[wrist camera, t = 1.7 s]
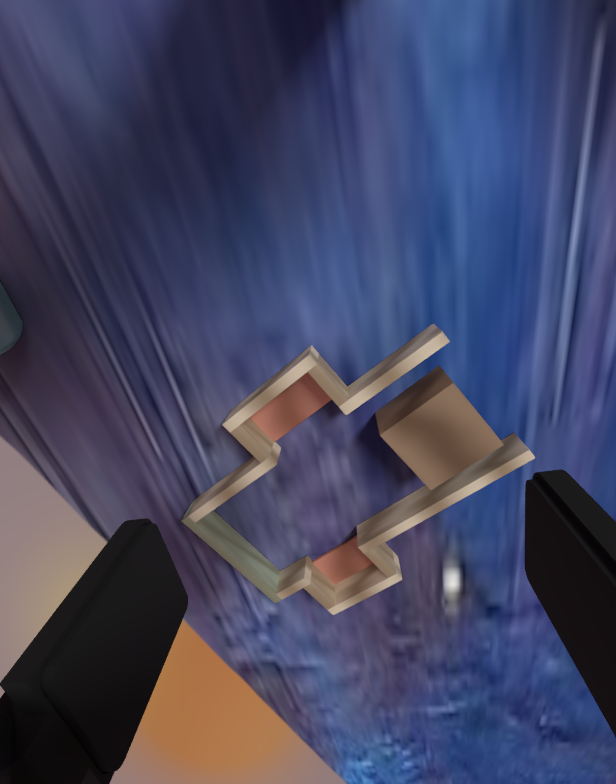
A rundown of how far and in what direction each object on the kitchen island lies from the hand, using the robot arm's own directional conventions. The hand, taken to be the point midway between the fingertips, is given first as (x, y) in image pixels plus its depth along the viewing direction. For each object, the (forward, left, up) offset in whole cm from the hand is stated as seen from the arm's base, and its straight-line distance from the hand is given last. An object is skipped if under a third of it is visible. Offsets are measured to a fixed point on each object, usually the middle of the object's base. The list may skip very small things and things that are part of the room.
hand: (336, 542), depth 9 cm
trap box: (+9, +12, -24) cm, 28 cm away
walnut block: (-1, +12, -24) cm, 27 cm away
